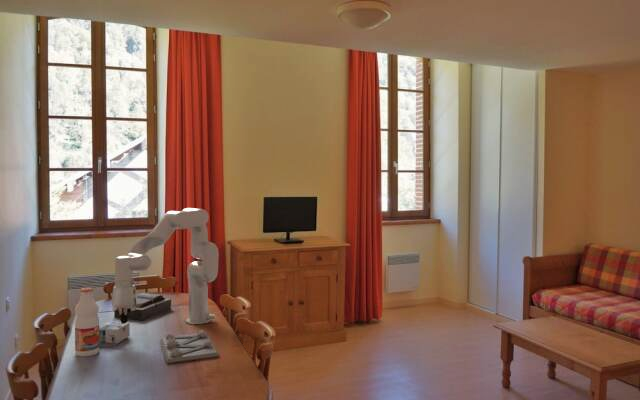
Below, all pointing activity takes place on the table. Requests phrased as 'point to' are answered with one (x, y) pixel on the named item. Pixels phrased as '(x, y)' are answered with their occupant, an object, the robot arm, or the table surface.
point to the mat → (107, 344)
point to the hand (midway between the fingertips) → (124, 322)
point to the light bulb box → (113, 332)
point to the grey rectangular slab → (188, 347)
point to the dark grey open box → (148, 307)
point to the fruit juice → (86, 324)
